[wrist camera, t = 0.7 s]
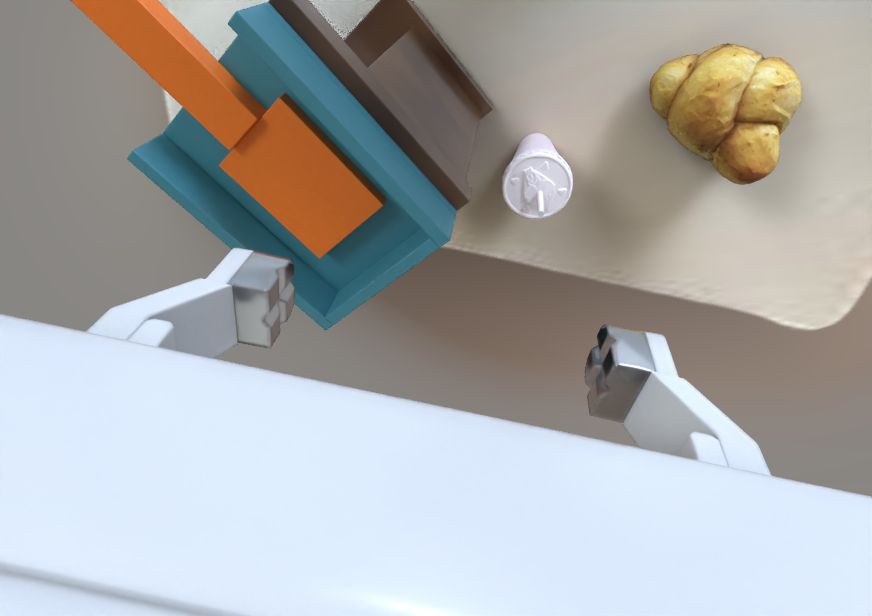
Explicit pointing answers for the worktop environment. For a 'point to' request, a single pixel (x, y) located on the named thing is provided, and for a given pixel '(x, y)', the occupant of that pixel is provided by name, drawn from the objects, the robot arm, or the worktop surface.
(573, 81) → the worktop surface
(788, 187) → the worktop surface
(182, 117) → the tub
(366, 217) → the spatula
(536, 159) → the smoothie
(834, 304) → the worktop surface
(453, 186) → the stand
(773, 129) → the bread roll
